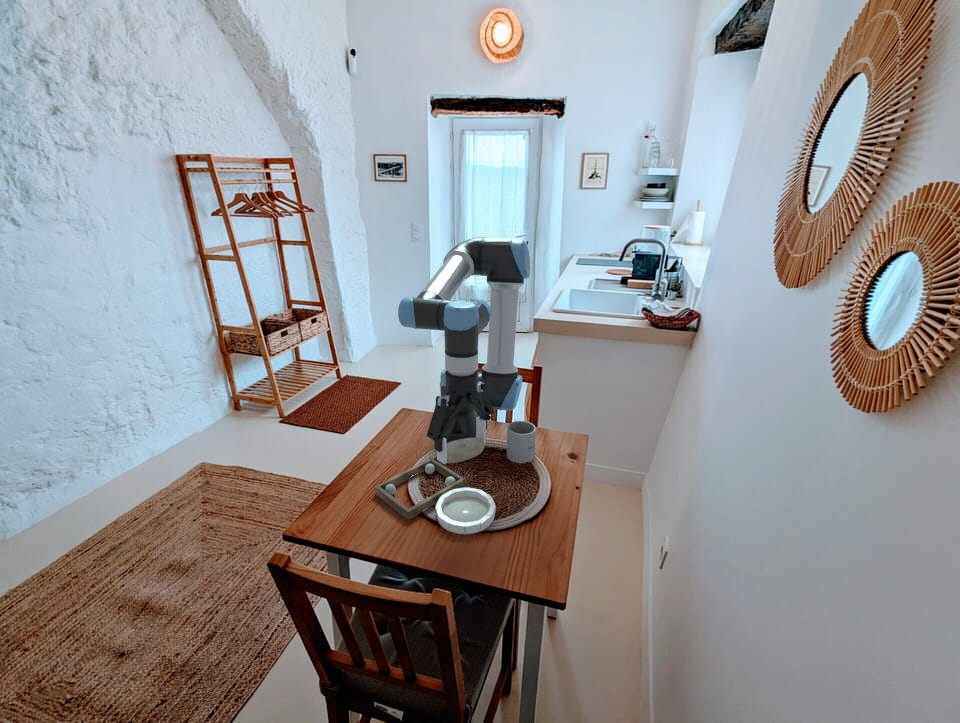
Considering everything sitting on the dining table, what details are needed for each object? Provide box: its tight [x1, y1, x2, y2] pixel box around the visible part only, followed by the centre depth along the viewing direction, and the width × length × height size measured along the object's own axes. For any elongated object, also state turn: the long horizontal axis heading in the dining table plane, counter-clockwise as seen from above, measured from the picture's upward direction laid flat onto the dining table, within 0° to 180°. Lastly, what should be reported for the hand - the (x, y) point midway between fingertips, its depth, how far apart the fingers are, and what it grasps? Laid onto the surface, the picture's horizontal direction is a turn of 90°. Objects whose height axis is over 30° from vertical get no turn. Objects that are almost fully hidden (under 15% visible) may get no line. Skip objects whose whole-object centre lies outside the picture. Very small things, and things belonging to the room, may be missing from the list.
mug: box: [506, 420, 537, 464], centre depth 147 cm, size 12×9×10 cm
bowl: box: [435, 486, 497, 535], centre depth 121 cm, size 15×15×3 cm
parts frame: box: [374, 457, 466, 521], centre depth 131 cm, size 20×15×2 cm
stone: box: [446, 437, 486, 464], centre depth 115 cm, size 6×6×12 cm
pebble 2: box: [444, 476, 456, 487], centre depth 132 cm, size 3×3×3 cm
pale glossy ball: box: [424, 464, 436, 475], centre depth 138 cm, size 3×3×3 cm
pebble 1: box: [385, 484, 397, 496], centre depth 129 cm, size 3×3×3 cm
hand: (462, 451), depth 115 cm, fingers closed on stone, 12 cm apart
